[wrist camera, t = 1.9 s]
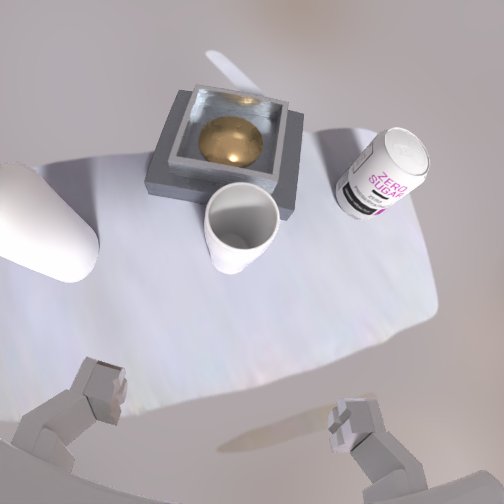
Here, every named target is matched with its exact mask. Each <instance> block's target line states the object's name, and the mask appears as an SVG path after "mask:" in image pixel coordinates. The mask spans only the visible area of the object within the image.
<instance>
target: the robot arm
mask: <svg viewBox="0 0 504 504" xmlns="http://www.w3.org/2000/svg"><path fill="white" fill-rule="evenodd" d="M125 374H126V373H125V368H123V367H119V366H115V365H112V364H109V363H105V362H102V361H99V360H96V359H92V358H89V357H86V358H85V359H84V360H83V362H82V365H81V367H80V369H79V371H78V373H77V375H76V377H75V379H74V382H73V384H72V386H71V388H70V390H67V389H66V390H64V391H63V392H61V393H59V394H58V395H56V396H55V397H53V398H51V399H50V400H48V401H47V402H45V403H43V404H42V405H40V406H38V407H37V408H35V409H34V410H32V411H30V412H29V413H27V414H26V415H24V416H23V417H22V419H21V421H20V423H19V426H18V428H17V430H16V433H15V435H14V437H13V440H12V442H11V444H10V443H8V442H6V441H5V440H3V439H1V438H0V504H180V503H175V502H169V501H164V500H159V499H155V498H150V497H146V496H142V495H138V494H134V493H130V492H127V491H123V490H120V489H116V488H113V487H109V486H107V485H104V484H100V483H98V482H95V481H92V480H89V479H86V478H83V477H80V476H78V475H75V474H73V473H71V472H72V468H73V465H74V461H75V459H74V456H73V455H72V454H71V453H70V451H69V450H68V449H67V448H66V446H67V445H69V444H70V443H71V442H72V441H73V440H75V439H76V438H77V437H78V436H79V435H80V434H82V433H83V432H84V431H85V430H86V429H88V428H89V427H90V426H91V425H92V424H94V423H95V422H96V420H98V421H101V422H105V423H109V424H112V425H117V423H118V420H119V417H120V414H121V409H120V405H121V404H122V403H124V401H125V398H126V393H127V380H126V379H125V378H124V376H125ZM327 425H328V430H329V431H330V432H331V433H332V436H331V437H330V445H331V451H332V452H350V454H351V455H352V457H353V458H354V459H355V460H356V462H357V463H358V464H359V466H360V467H361V469H362V470H363V471H364V472H365V474H366V475H367V476H368V478H369V479H370V480H371V482H372V483H373V484H372V485H370V486H368V487H367V488H365V489H364V490H363V498H364V504H504V488H503V485H502V484H501V483H500V482H499V481H498V480H497V479H496V478H495V477H494V476H493V475H492V474H490V473H489V472H488V471H486V470H480V471H478V472H475V473H472V474H470V475H467V476H465V477H463V478H460V479H457V480H454V481H451V482H448V483H446V484H443V485H440V486H436V487H433V488H430V489H428V486H427V482H426V478H425V474H424V470H423V467H422V464H421V463H420V462H419V461H418V460H417V459H416V458H415V457H414V456H413V455H412V454H411V453H410V452H409V451H408V450H407V449H406V448H405V447H404V446H403V445H402V444H401V443H400V442H399V441H398V440H397V439H396V438H395V437H394V436H393V435H392V434H391V433H390V432H389V431H388V432H386V430H385V426H384V422H383V419H382V415H381V412H380V408H379V405H378V402H377V400H376V399H374V398H369V399H363V398H349V399H340V400H339V401H338V402H337V407H335V408H333V409H332V410H331V411H330V413H329V416H328V421H327Z"/></svg>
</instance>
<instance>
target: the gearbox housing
mask: <svg viewBox="0 0 504 504" xmlns="http://www.w3.org/2000/svg"><path fill="white" fill-rule="evenodd" d="M288 104H289V102H285V101H281V100H277V99H272V98H268V97H264V96H259V95H254V94H250V93H244V92H239V91H234V90H228V89H222V88H216V87H210V86H203V85H196V86H195V88H194V91H193V92H192V91H184V90H179V92H178V94H177V96H176V99H175V101H174V103H173V106H172V108H171V110H170V113H169V115H168V118H167V120H166V123H165V125H164V128H163V130H162V133H161V136H160V138H159V141H158V144H157V147H156V149H155V152H154V155H153V158H152V160H151V163H150V166H149V169H148V172H147V175H146V178H145V181H144V182H145V185H146V188H147V190H148V193H149V194H150V195H156V196H162V197H168V198H173V199H179V200H185V201H190V202H195V203H201V204H206V205H207V204H208V202H209V200H210V198H211V197H212V195H213V194H214V193H215V192H216V191H217V190H219V189H220V188H222V187H223V186H225V185H228V184H231V183H236V182H246V183H251V184H254V185H257V186H259V187H261V188H263V189H264V190H265V191H267V192H268V193H269V194H270V195H271V196H272V198H273V199H274V201H275V202H276V204H277V207H278V210H279V214H280V219H281V220H286V221H287V219H288V218H289V217H290V215H291V214H292V213H293V211H294V208H295V200H296V191H297V181H298V172H299V162H300V152H301V142H302V131H303V120H304V114H302V113H298V112H294V111H290V110H288Z"/></svg>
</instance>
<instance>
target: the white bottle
mask: <svg viewBox="0 0 504 504" xmlns="http://www.w3.org/2000/svg"><path fill="white" fill-rule="evenodd" d="M98 253H99V243H98V238H97V236H96V234H95V232H94V230H93V229H92V228H91V227H90V226H89V225H88V224H87V223H86V222H85V221H84V220H83V219H82V218H81V217H80V216H79V215H78V214H77V213H76V212H75V211H74V210H73V209H72V208H71V207H70V206H69V205H68V204H67V203H66V202H65V201H64V200H63V199H62V198H61V197H60V196H59V195H58V194H57V193H56V192H55V191H54V190H53V189H52V188H51V187H50V186H49V185H48V183H47V182H46V181H45V180H44V179H43V178H42V177H41V176H40V175H39V174H38V173H37V172H36V171H35V170H34V169H32V168H30V167H28V166H26V165H24V164H22V163H18V162H11V163H5V164H2V165H0V256H2V257H4V258H6V259H9V260H11V261H13V262H15V263H18V264H20V265H22V266H25V267H27V268H30V269H32V270H35V271H37V272H39V273H42V274H44V275H47V276H50V277H52V278H55V279H57V280H60V281H62V282H67V283H72V282H77V281H80V280H81V279H83V278H85V277H86V276H87V275H88V274H89V273H90V272H91V271H92V269H93V268H94V266H95V264H96V261H97V258H98Z"/></svg>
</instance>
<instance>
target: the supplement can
mask: <svg viewBox="0 0 504 504" xmlns="http://www.w3.org/2000/svg"><path fill="white" fill-rule="evenodd" d="M429 168H430V158H429V155H428V152H427V150H426V148H425V146H424V145H423V143H422V142H421V141H420V140H419V139H418V138H417V137H416V136H415V135H414V134H413V133H411V132H410V131H408V130H405V129H403V128H396V127H393V128H392V129H388V130H384V131H382V132H380V133H379V134H378V135H377V136H376V137H375V138H374V139H373V141H372V142H371V143H370V144H369V145H368V146H367V148H366V149H365V150H364V151H363V152H362V153H361V155H360V156H359V157H358V158H357V159H356V160H355V161H354V163H353V164H352V165H351V166H350V167H349V168H348V170H347V171H346V172H345V173H344V174H343V175H342V176H341V178H340V179H339V181H338V182H337V184H336V191H335V192H336V197H337V201H338V203H339V205H340V206H341V208H342V209H343V210H344V211H345V212H346V213H347V214H348V215H349V216H351V217H352V218H354V219H356V220H362V221H366V220H371V219H373V218H374V217H375V216H377V215H378V214H380V213H381V212H383V211H384V210H385V209H387V208H388V207H390V206H391V205H392V204H394V203H395V202H397V201H398V200H399V199H401V198H402V197H404V196H405V195H406V194H408V193H409V192H410V191H412V190H413V189H414V188H416V187H417V186H419V185H420V184H421V183H422V182H423V181H424V180H425V177H426V175H427V172H428V170H429Z"/></svg>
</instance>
